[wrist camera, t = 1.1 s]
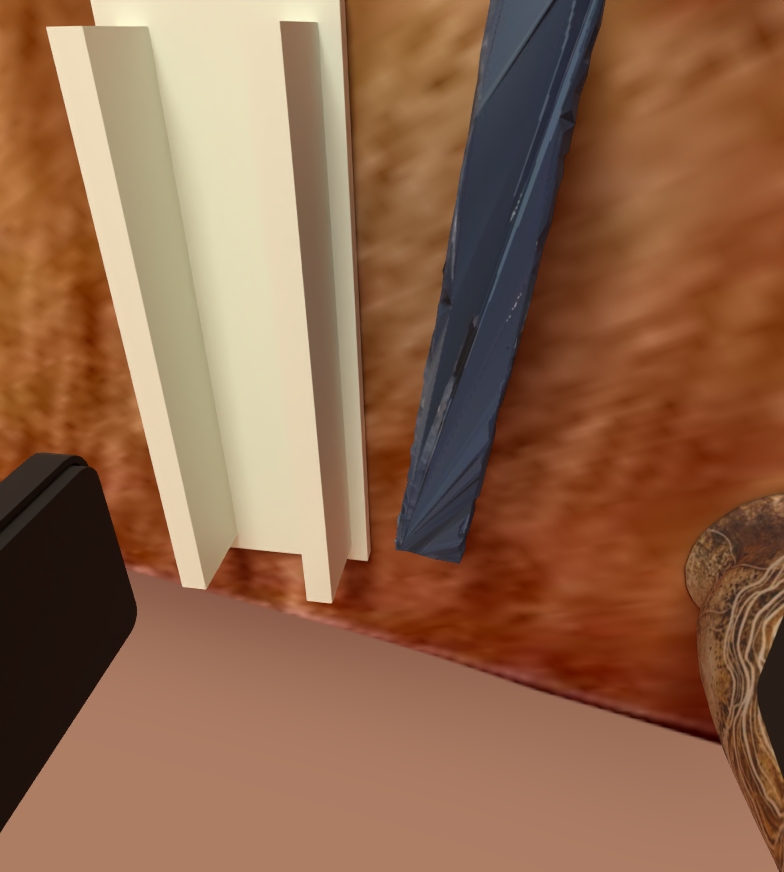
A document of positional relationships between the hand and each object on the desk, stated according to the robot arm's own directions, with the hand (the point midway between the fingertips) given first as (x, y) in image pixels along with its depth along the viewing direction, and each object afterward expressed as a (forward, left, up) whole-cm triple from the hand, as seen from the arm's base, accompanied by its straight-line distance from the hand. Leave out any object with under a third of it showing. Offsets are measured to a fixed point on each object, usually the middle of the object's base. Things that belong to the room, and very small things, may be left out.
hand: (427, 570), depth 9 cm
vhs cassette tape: (0, 0, -20) cm, 20 cm away
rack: (+10, +5, -20) cm, 23 cm away
